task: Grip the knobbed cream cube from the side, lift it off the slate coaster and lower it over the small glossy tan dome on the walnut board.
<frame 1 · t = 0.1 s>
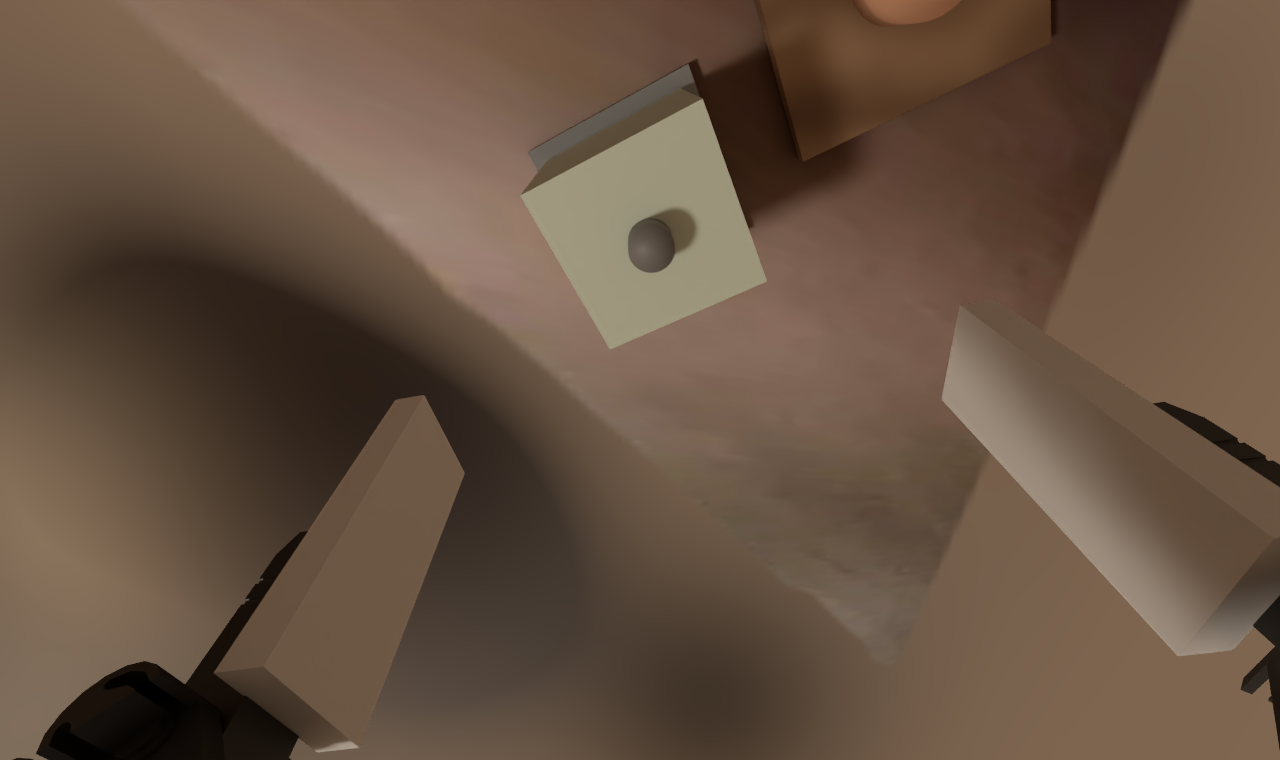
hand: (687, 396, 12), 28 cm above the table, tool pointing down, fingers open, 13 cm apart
coaster: (643, 192, 36), on the table
knobbed cream cube: (643, 194, 36), point 1 cm above the table, touching coaster
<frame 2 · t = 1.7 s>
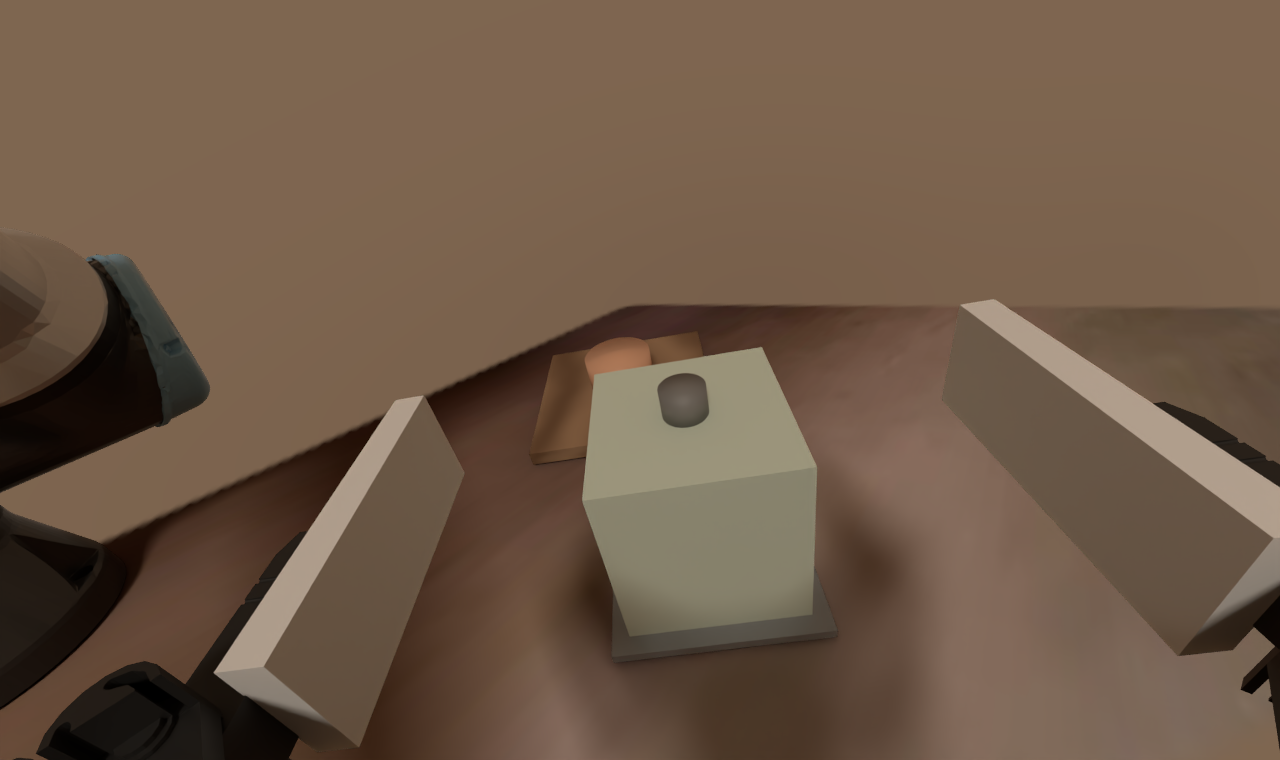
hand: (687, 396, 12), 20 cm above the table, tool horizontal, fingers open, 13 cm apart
board: (626, 395, 48), on the table
glossy tan dome: (624, 385, 47), point 1 cm above the table, touching board
coaster: (708, 554, 31), on the table
knobbed cream cube: (707, 548, 31), point 1 cm above the table, touching coaster
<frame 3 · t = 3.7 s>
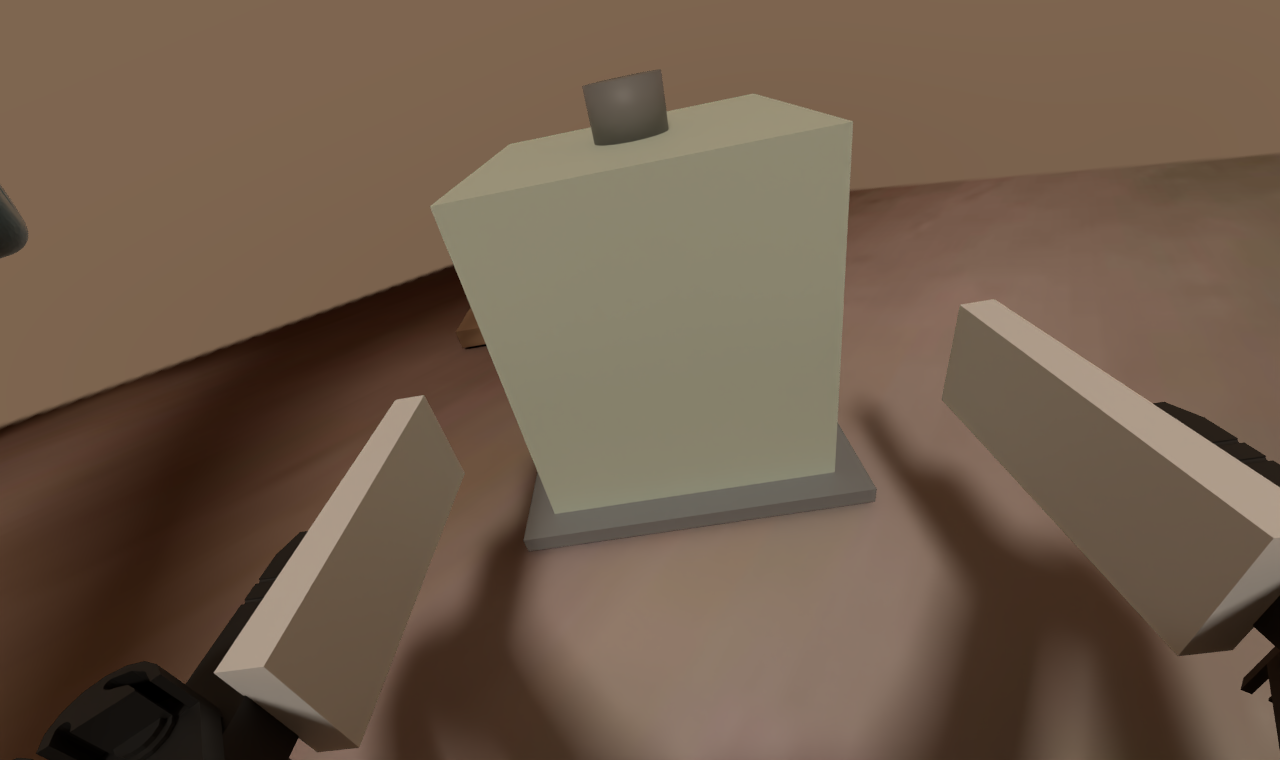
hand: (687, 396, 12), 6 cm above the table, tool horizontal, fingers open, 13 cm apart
board: (589, 279, 38), on the table
coaster: (680, 419, 22), on the table
knobbed cream cube: (678, 409, 22), point 1 cm above the table, touching coaster
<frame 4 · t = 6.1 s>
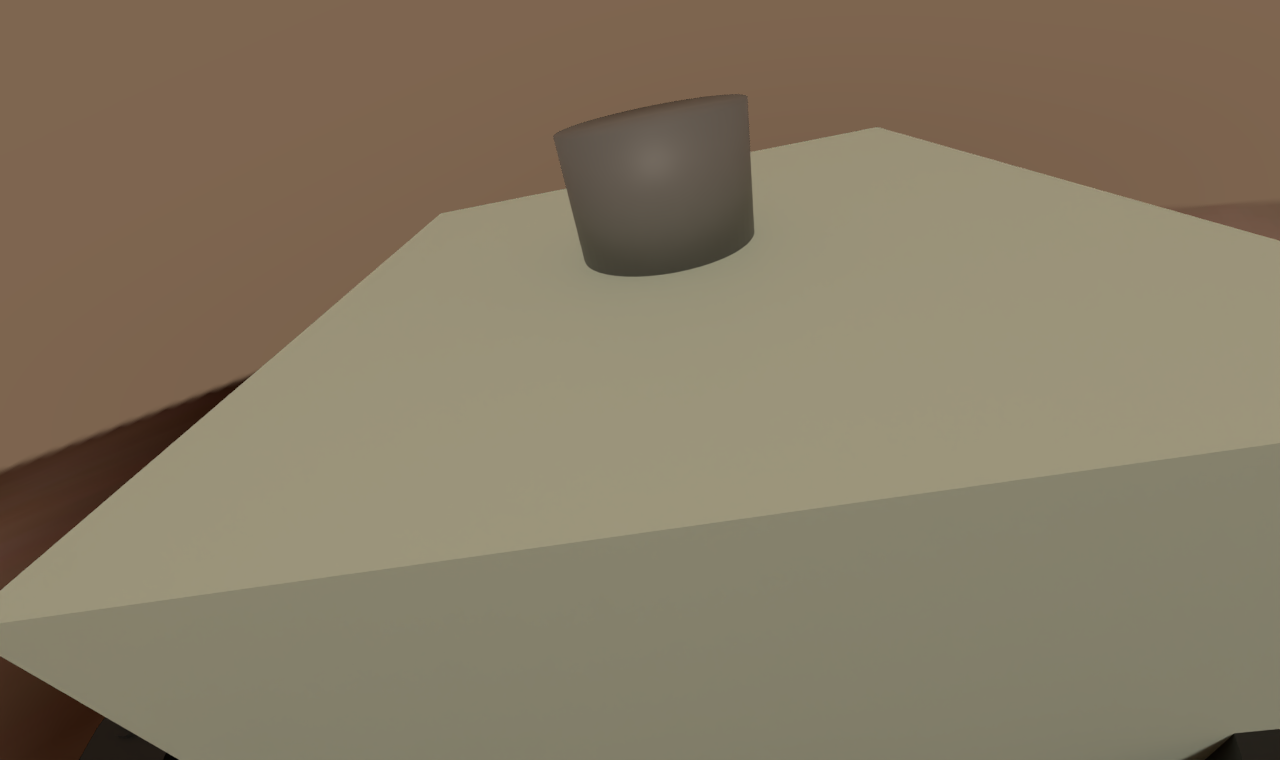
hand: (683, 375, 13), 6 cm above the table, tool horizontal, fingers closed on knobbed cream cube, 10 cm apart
knobbed cream cube: (729, 648, 13), point 1 cm above the table, touching coaster, gripper
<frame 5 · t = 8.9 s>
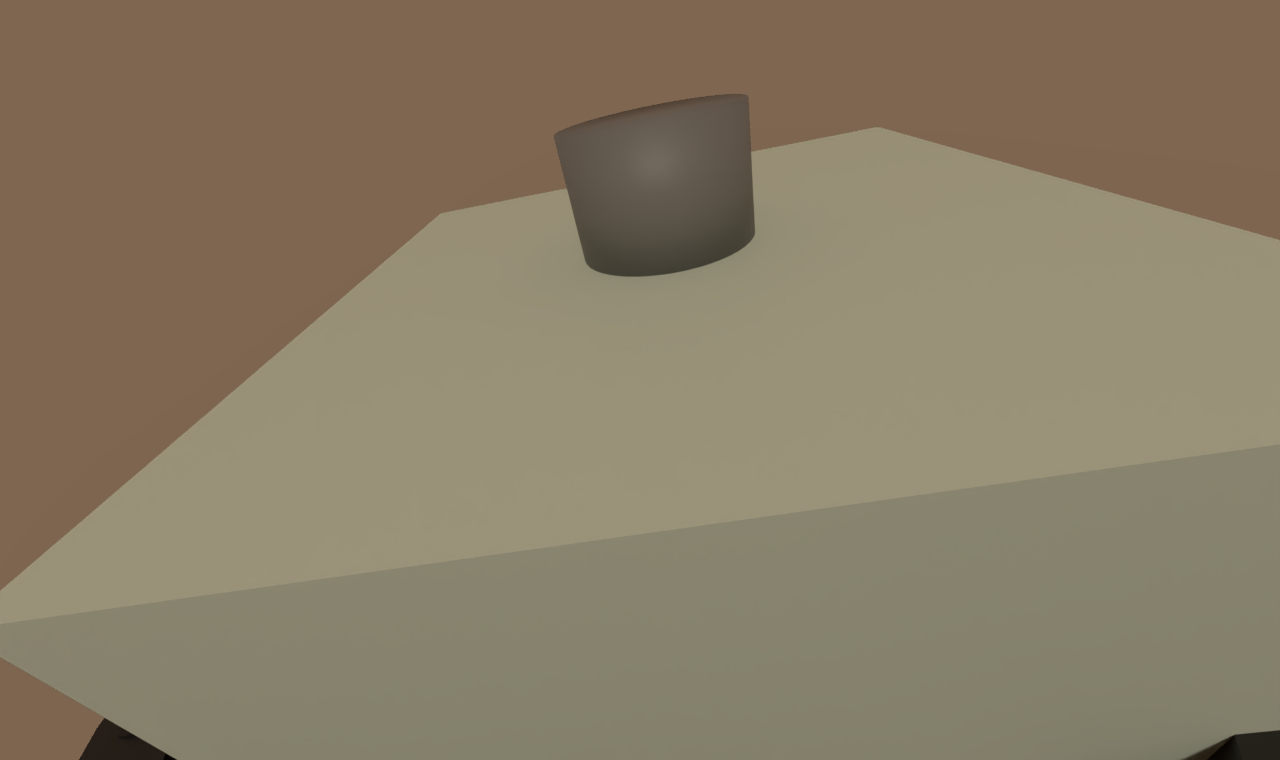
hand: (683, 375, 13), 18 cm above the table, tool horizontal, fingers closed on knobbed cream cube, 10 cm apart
knobbed cream cube: (729, 648, 13), point 12 cm above the table, touching gripper
when the fingers open (9 cm above the table, at t = 11.7 s): knobbed cream cube drops 2 cm, resting on board.
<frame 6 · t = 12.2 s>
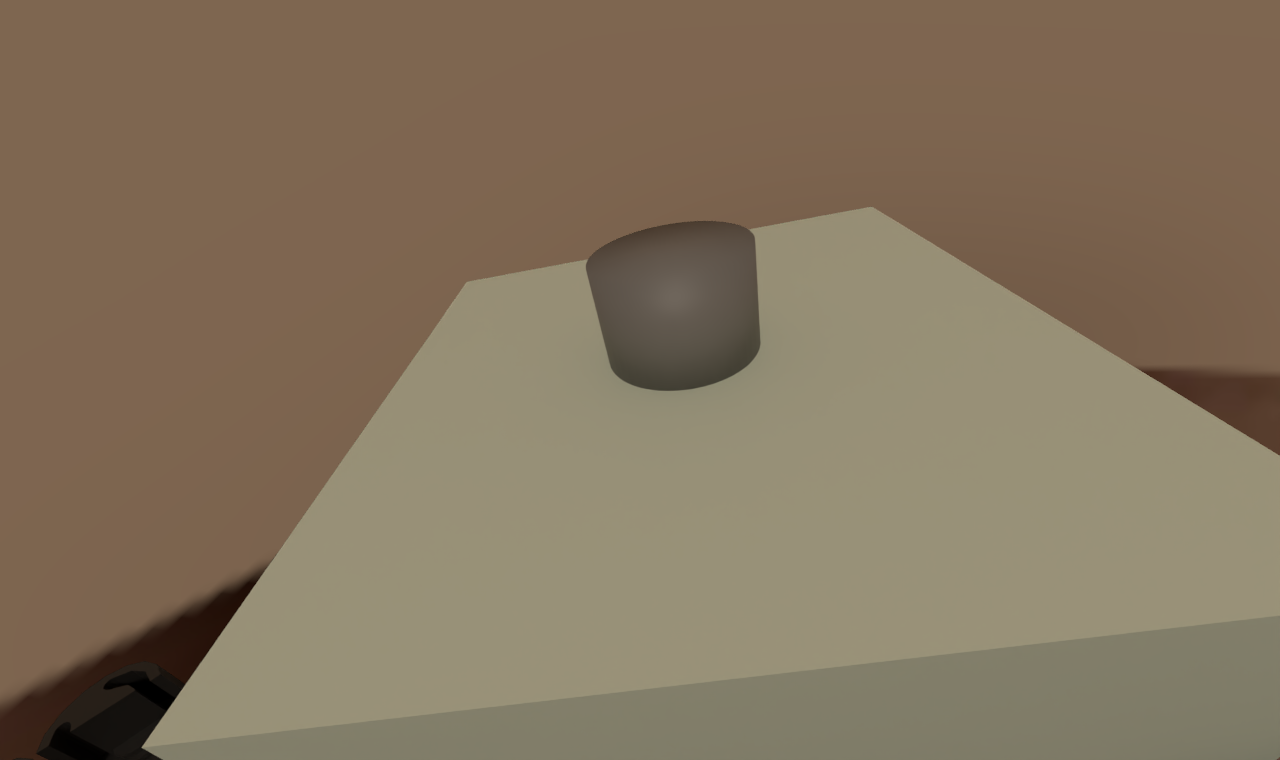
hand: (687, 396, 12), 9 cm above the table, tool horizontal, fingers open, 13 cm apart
knobbed cream cube: (734, 681, 14), point 1 cm above the table, touching board
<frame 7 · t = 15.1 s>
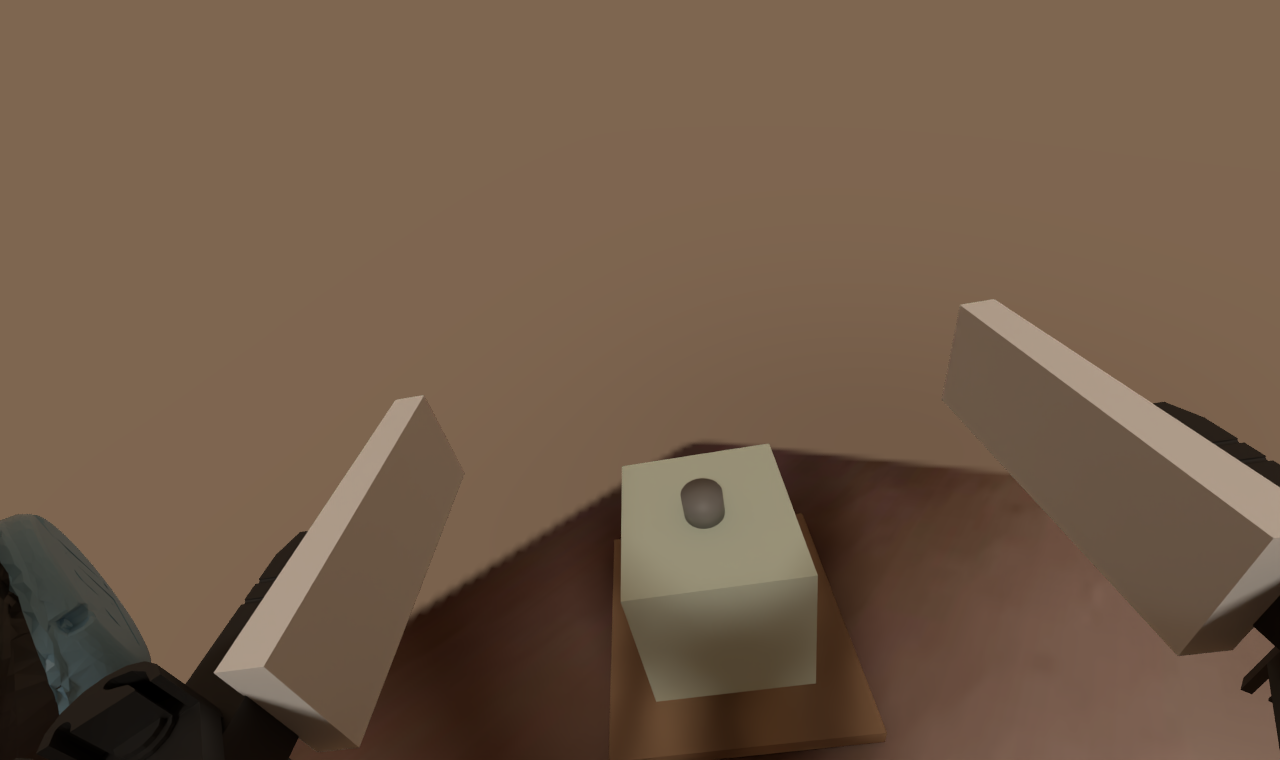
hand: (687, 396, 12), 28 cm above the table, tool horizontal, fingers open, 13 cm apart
board: (723, 625, 36), on the table
knobbed cream cube: (722, 616, 35), point 1 cm above the table, touching board
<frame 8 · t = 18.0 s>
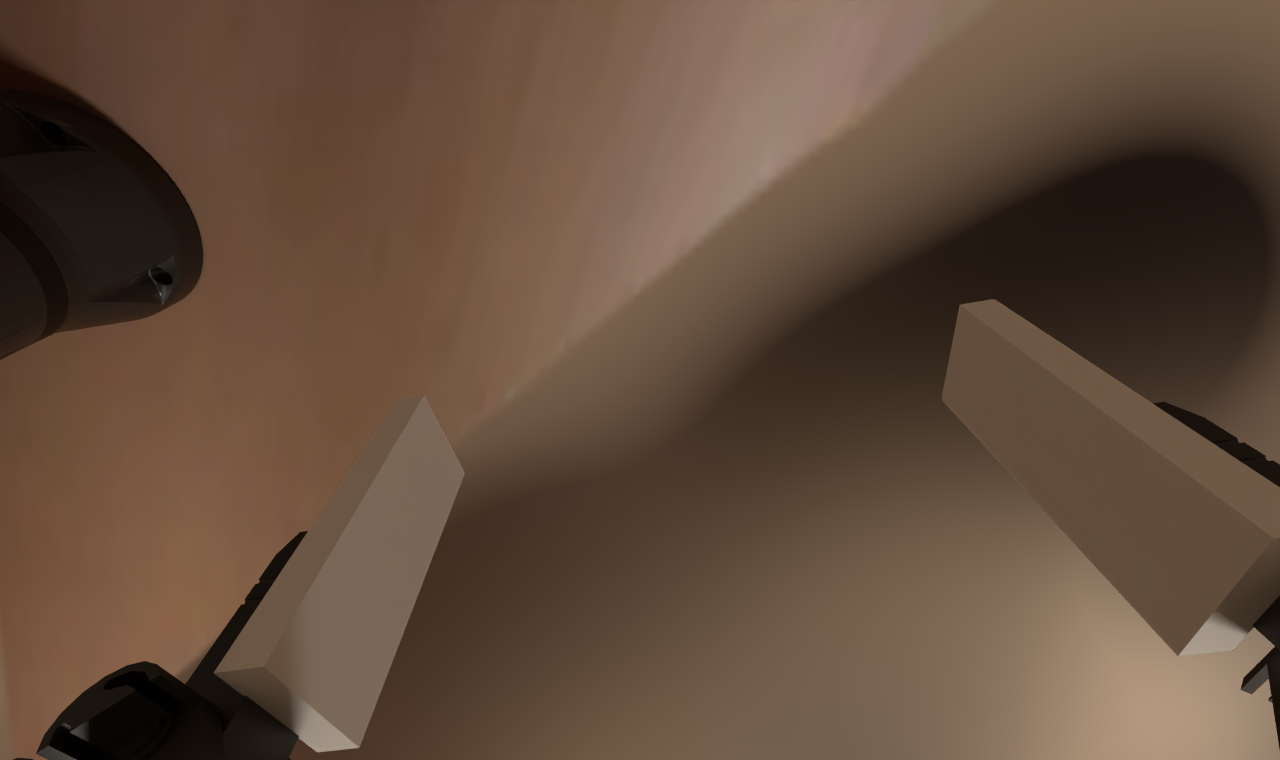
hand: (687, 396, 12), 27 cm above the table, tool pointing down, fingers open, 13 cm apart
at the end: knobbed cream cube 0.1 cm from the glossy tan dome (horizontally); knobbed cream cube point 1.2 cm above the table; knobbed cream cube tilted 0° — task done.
